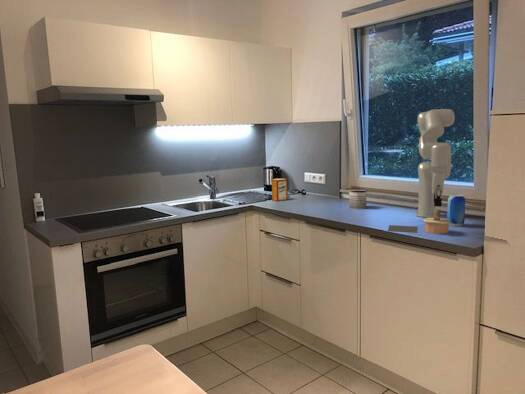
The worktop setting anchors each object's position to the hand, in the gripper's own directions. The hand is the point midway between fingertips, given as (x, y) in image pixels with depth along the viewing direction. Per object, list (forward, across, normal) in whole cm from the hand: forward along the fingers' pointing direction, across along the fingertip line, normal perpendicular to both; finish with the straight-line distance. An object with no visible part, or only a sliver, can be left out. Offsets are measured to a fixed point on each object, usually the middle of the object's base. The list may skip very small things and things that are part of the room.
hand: (437, 204), depth 213 cm
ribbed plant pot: (+16, -56, -46) cm, 75 cm away
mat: (+14, 0, -16) cm, 21 cm away
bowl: (+14, +1, 0) cm, 14 cm away
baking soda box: (+17, -74, -105) cm, 129 cm away
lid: (+9, +1, 0) cm, 9 cm away
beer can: (+15, -18, +10) cm, 25 cm away
